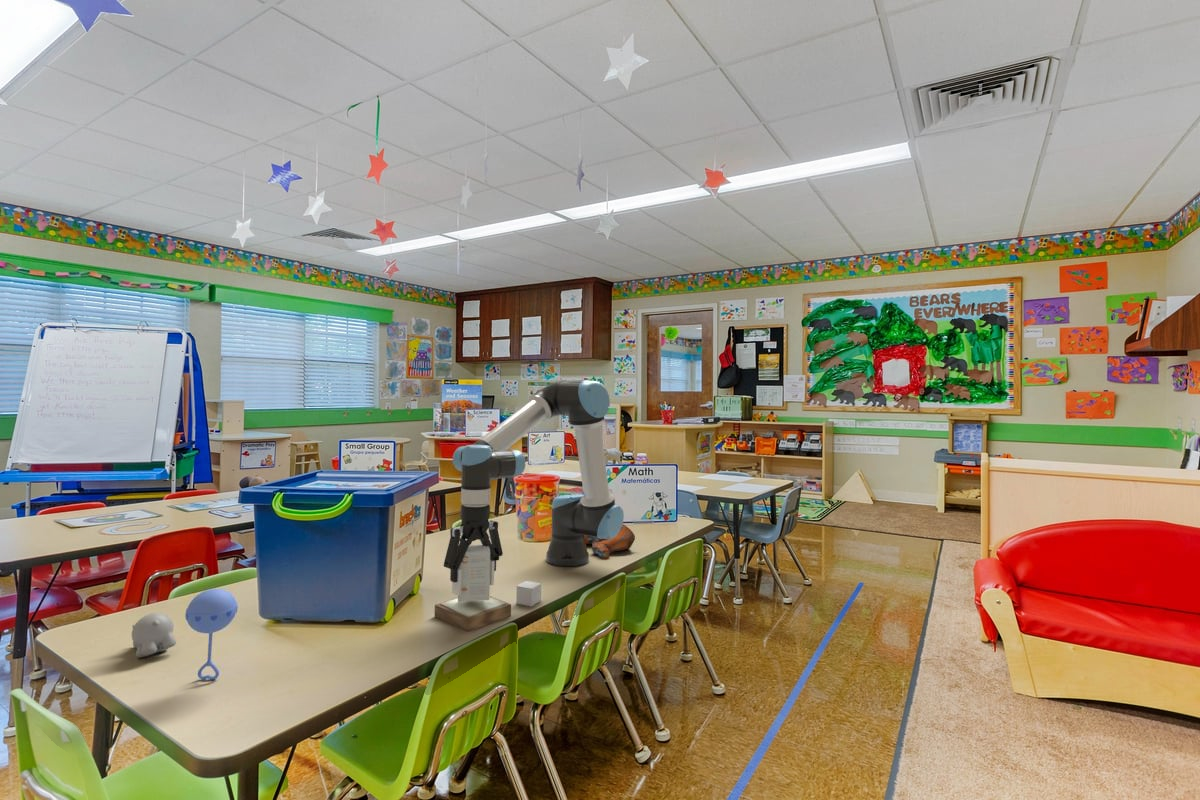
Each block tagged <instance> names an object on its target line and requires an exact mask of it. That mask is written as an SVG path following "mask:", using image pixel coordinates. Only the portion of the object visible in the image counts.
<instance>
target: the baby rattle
mask: <svg viewBox="0 0 1200 800" xmlns="http://www.w3.org/2000/svg"><path fill="white" fill-rule="evenodd" d="M238 606H239V605H238V601H237V599H236V598H235V596H234V595H233V594H232V592H230V591H228V590H226V589H223V588H210V589H207V590H204V591H202V592H200V593H198V594H197V595H195V597H193V599H192V600H191V601H190V603H189V604H188V606H187V608H186V610H185V616H184V617H185V620H186V622H187V624H188V625H189V627H190V628H191V629H192V630H194V631H195V632H197V633H202V634H208V645H207V661H206V662H205V663H204V664H202V666H201V667H200V668H199V669H198V670H197V677H198V678H199V679H201V680H206V679H209V680H212V681H213V680H214V681H215V680H217V679H218V677H219V676H220V670H219V669H218V667H217V666H216V664H214V662H213V661H212V652H213V651H212V647H213V633H216V632H219V631H221V630H223V629H224V628H227V627H228V625H229V624H231V622H232V621H233V620H234V618H235V616H236V615H237V613H238V608H239V607H238ZM206 667H211V668H212V670H213V671H214V673H215V675H214V676H213V675H211V674H206V675H203V674H202V672H203V670H204V669H205V668H206Z"/></svg>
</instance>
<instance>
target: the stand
mask: <svg viewBox="0 0 1200 800" xmlns="http://www.w3.org/2000/svg"><path fill="white" fill-rule="evenodd" d="M511 616H512V604H511V603H509V602H507V601H503V600H502V599H498V598H496V597H494V596H490V595H489V600H482V601H467V602H458V597H455V598H452V599H449V600H447V601H442V602H439V603H436V604H434V617H435V618H437V619H439V620H442V621H444V622H447V623H448V624H450V625H452V626H454V627H457V628H459V629H461V630H463V631H466V632H469V631H472V630H475V629H478V628H481V627H483V626H486V625H489V624H491V623H495V622H497V621H500V620H503V619H507V618H508V617H511Z"/></svg>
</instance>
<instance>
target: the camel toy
mask: <svg viewBox="0 0 1200 800" xmlns="http://www.w3.org/2000/svg"><path fill="white" fill-rule="evenodd" d="M584 539H585V543H586V545H591V544H592V547H591V550H592V552H593V554H594V555H596V556H599V558H601V559H608V558H610V556H611V554H610V553H611V552H618V551H619V552H620V551H625V550H630V549H631V547H632V546H633V545H634V542H635V540H636V536H635V533H634V532H633V531H632V530H631V529H630V528H629V527H628V526H627V525H625V524H624V523H623V524H622V527H621V529H620V531H619V532H618V534H617V535H616V536H615V537H613V538H612V539H603V538H602V539H600V538H598V537H593V536H588V535H584Z"/></svg>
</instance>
